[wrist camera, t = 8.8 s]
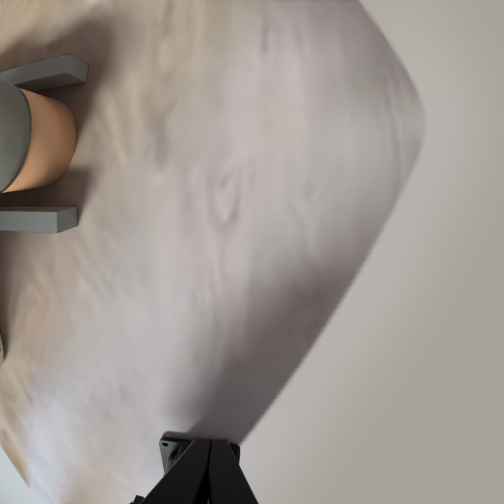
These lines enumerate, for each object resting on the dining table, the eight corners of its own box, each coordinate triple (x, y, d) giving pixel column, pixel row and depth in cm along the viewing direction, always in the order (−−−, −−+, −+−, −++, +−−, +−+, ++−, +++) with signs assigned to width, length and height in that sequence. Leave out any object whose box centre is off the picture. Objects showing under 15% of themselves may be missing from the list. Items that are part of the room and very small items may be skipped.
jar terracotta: (74, 188, 18) (19, 197, 12) (7, 189, 17) (-49, 199, 12) (82, 91, 16) (31, 70, 11) (13, 103, 16) (-41, 93, 10)
